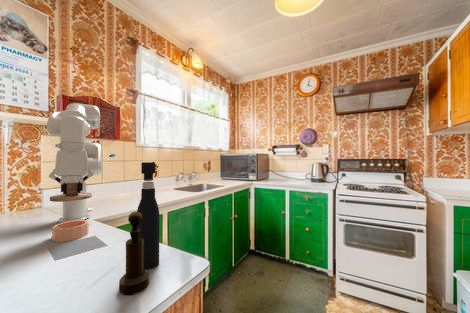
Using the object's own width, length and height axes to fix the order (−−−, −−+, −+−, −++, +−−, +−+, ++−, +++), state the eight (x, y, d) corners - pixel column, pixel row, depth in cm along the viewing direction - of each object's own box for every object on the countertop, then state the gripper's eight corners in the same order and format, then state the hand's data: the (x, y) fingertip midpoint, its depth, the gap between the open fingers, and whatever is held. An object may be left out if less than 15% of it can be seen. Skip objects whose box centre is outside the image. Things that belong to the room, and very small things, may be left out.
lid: (70, 195, 87) (71, 180, 87) (99, 195, 86) (99, 181, 87) (39, 201, 74) (40, 184, 74) (72, 201, 73) (73, 184, 74)
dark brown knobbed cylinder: (126, 278, 52) (127, 209, 52) (152, 277, 53) (153, 208, 53) (113, 296, 45) (114, 216, 46) (143, 294, 46) (144, 215, 46)
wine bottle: (163, 264, 59) (164, 162, 60) (140, 273, 55) (142, 162, 55) (153, 257, 64) (154, 162, 64) (131, 264, 59) (133, 162, 60)
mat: (47, 248, 70) (47, 247, 70) (95, 236, 80) (95, 235, 80) (54, 262, 61) (54, 260, 61) (107, 246, 71) (107, 245, 71)
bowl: (70, 231, 86) (70, 219, 86) (94, 232, 85) (95, 220, 85) (44, 242, 75) (44, 228, 75) (71, 243, 74) (72, 229, 74)
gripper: (43, 146, 73) (42, 197, 72) (98, 147, 83) (98, 192, 83) (44, 147, 78) (43, 194, 78) (96, 148, 89) (95, 190, 89)
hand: (71, 192), depth 80 cm, fingers closed on lid, 4 cm apart
